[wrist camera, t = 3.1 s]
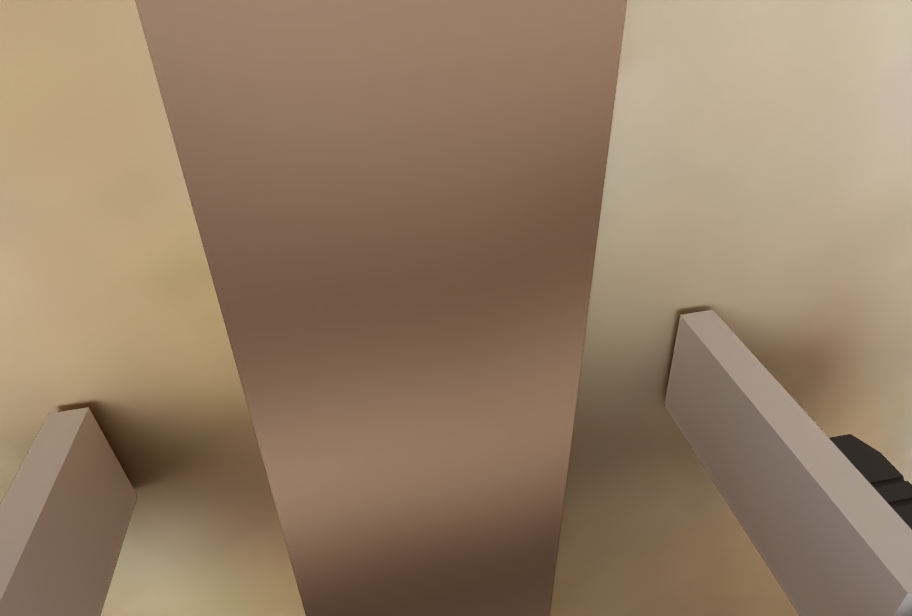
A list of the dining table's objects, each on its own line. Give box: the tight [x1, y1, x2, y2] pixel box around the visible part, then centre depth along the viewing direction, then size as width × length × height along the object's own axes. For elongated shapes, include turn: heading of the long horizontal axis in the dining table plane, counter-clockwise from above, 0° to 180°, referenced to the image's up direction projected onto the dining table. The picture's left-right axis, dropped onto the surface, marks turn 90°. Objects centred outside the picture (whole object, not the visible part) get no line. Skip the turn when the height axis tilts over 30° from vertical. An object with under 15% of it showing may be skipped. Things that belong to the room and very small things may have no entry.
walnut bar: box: [135, 0, 627, 616], centre depth 12 cm, size 20×4×5 cm, turn 1°
